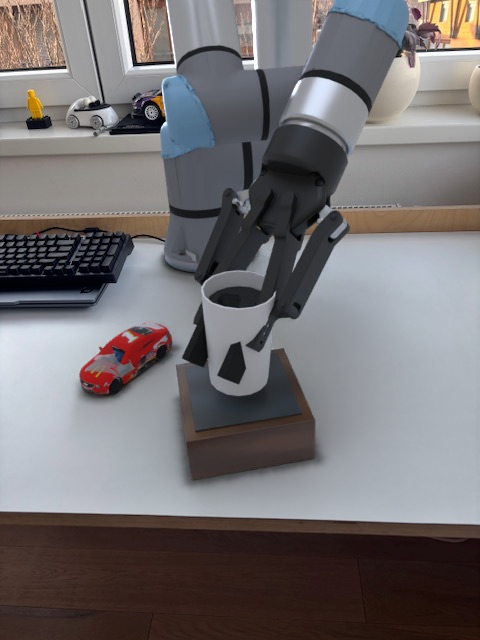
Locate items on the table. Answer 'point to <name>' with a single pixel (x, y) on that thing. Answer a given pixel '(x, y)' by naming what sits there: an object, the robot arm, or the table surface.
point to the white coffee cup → (236, 327)
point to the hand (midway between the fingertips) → (210, 371)
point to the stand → (245, 421)
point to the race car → (125, 358)
